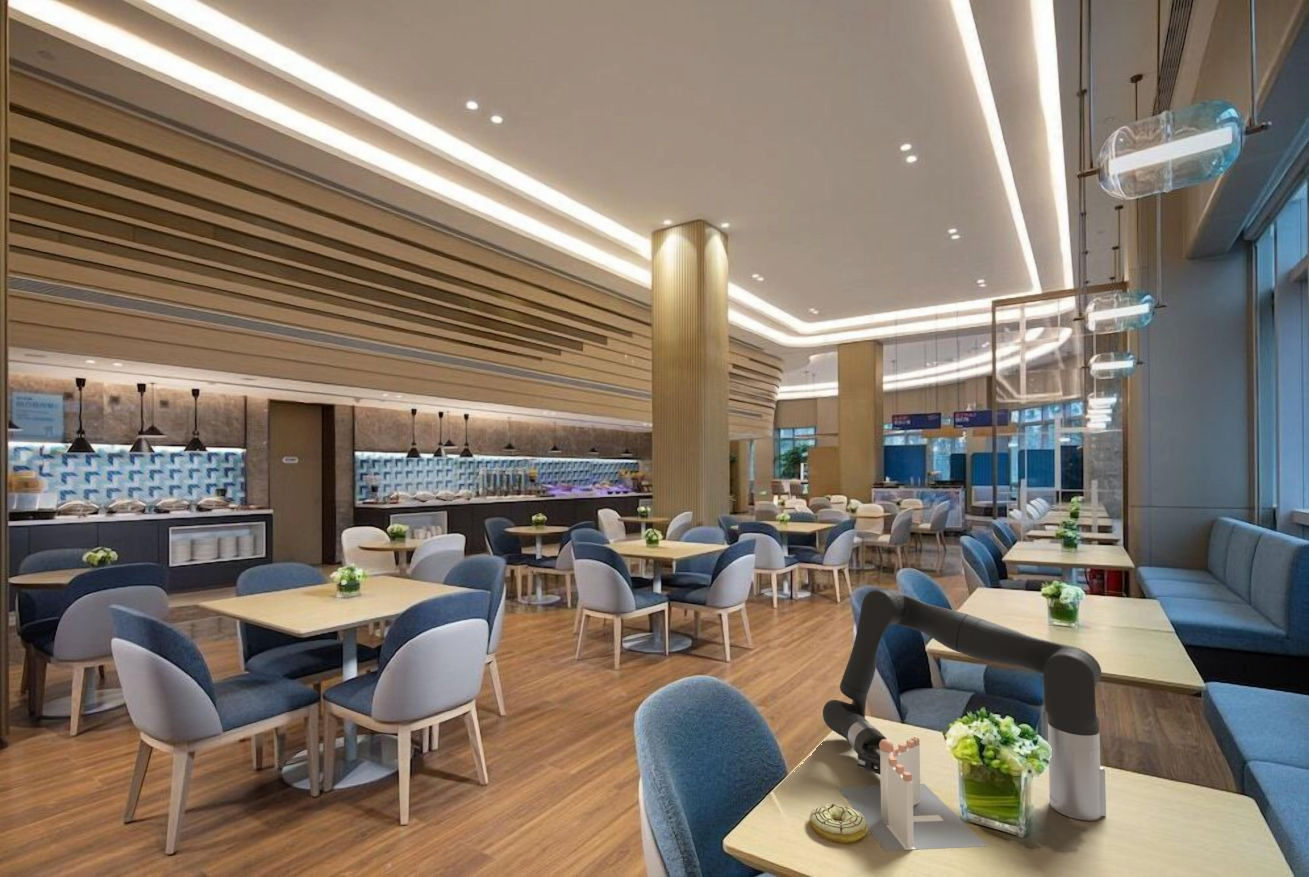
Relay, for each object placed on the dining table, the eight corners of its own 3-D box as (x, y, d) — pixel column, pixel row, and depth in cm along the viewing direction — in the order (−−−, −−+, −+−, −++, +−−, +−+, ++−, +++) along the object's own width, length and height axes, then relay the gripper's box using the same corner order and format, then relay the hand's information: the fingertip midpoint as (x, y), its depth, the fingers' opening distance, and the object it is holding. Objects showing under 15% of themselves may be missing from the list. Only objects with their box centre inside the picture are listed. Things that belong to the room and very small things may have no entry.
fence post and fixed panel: (890, 816, 133) (889, 736, 134) (917, 848, 122) (916, 761, 122) (877, 816, 133) (876, 736, 134) (903, 849, 122) (902, 761, 122)
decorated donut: (833, 812, 136) (833, 794, 136) (877, 836, 127) (877, 816, 128) (799, 828, 130) (799, 809, 130) (843, 854, 121) (843, 833, 122)
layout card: (924, 786, 147) (924, 783, 147) (986, 848, 123) (986, 845, 123) (838, 789, 145) (838, 786, 145) (884, 853, 121) (884, 850, 121)
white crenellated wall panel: (894, 816, 132) (894, 750, 133) (889, 813, 133) (888, 748, 134) (920, 801, 138) (919, 738, 139) (915, 799, 139) (914, 736, 140)
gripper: (841, 727, 154) (871, 761, 137) (895, 726, 155) (932, 759, 138) (842, 759, 154) (872, 797, 136) (896, 758, 155) (932, 795, 137)
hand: (902, 778), depth 137 cm, fingers closed
